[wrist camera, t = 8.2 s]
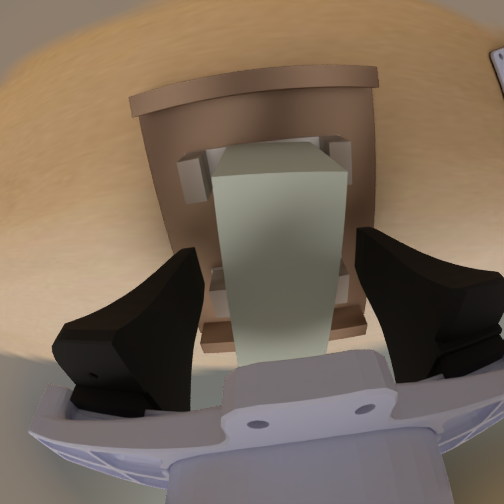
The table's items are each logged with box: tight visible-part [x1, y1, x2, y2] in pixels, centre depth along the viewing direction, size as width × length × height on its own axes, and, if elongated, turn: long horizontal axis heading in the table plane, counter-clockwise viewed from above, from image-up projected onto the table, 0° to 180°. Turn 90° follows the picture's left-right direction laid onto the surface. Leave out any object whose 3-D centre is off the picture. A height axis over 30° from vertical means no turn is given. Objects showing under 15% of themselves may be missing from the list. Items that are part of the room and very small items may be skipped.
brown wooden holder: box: [129, 65, 379, 353], centre depth 15 cm, size 12×16×4 cm
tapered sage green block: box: [211, 141, 348, 367], centre depth 13 cm, size 4×9×6 cm, turn 3°
